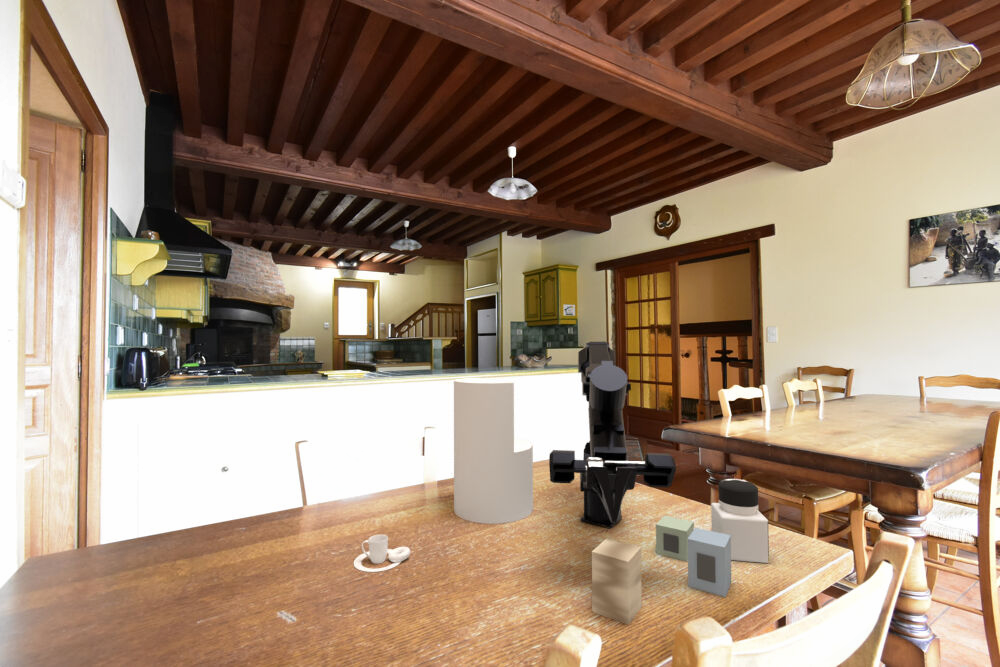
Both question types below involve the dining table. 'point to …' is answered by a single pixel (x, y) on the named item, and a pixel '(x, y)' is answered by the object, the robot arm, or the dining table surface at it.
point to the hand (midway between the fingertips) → (614, 521)
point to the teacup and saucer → (381, 554)
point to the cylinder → (489, 454)
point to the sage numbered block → (673, 537)
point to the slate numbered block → (709, 561)
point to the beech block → (616, 580)
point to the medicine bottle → (741, 521)
